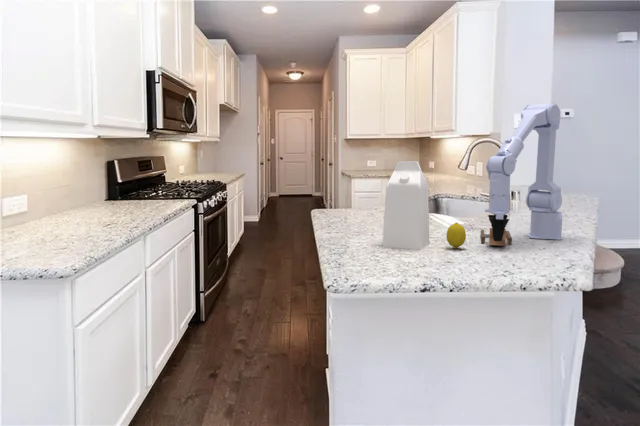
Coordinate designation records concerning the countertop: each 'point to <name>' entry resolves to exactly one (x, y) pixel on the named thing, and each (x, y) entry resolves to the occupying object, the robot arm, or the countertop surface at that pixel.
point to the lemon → (456, 235)
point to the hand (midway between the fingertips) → (497, 239)
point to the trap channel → (508, 237)
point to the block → (501, 243)
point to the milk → (406, 208)
